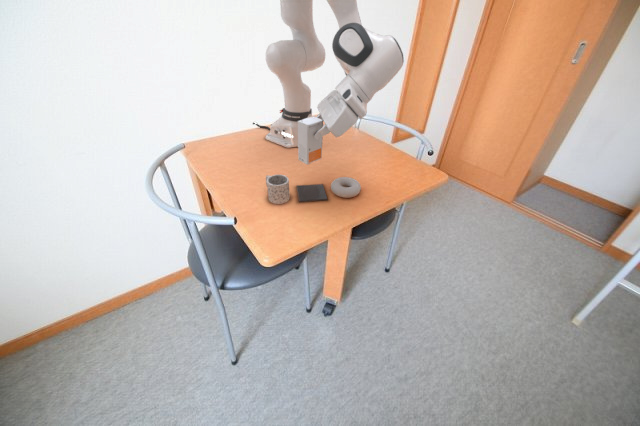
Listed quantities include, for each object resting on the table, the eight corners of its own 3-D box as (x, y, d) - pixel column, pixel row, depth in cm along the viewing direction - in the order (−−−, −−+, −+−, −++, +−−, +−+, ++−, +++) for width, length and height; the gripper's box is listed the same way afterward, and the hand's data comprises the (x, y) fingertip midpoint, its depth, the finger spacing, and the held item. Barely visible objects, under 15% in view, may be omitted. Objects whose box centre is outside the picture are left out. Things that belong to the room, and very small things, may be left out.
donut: (357, 183, 95) (328, 183, 94) (358, 175, 93) (329, 174, 92) (363, 199, 87) (332, 200, 86) (364, 190, 85) (333, 190, 84)
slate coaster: (322, 185, 93) (322, 184, 93) (327, 200, 86) (327, 198, 86) (296, 187, 92) (296, 185, 91) (299, 202, 85) (299, 200, 84)
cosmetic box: (307, 165, 79) (307, 125, 71) (298, 160, 81) (296, 120, 73) (322, 159, 82) (323, 119, 74) (313, 154, 84) (313, 115, 77)
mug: (293, 198, 86) (293, 180, 82) (276, 206, 83) (274, 188, 79) (276, 185, 92) (274, 168, 88) (259, 192, 88) (256, 174, 84)
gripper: (334, 78, 79) (301, 113, 83) (352, 97, 63) (310, 139, 67) (348, 94, 82) (315, 127, 87) (368, 116, 66) (327, 155, 71)
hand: (313, 133), depth 77 cm, fingers closed on cosmetic box, 5 cm apart
